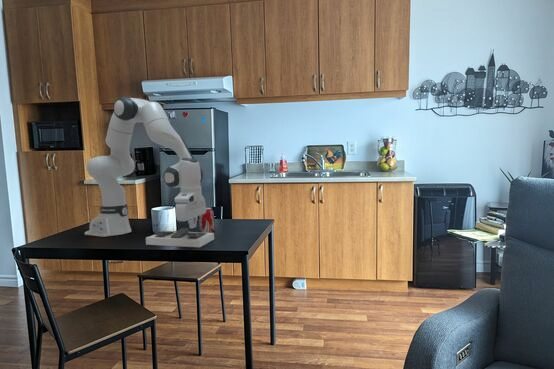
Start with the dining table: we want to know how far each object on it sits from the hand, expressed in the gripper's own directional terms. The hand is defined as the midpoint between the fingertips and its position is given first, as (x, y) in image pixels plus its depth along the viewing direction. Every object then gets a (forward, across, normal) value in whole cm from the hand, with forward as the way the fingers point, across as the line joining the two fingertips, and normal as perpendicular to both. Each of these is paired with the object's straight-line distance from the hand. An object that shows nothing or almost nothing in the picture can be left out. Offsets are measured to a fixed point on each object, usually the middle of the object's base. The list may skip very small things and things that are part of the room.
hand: (192, 227), depth 162 cm
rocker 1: (+4, -3, -16) cm, 17 cm away
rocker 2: (+4, -3, 0) cm, 5 cm away
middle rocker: (+4, -3, -8) cm, 10 cm away
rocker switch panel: (+7, -3, -8) cm, 11 cm away
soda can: (+8, -23, -5) cm, 25 cm away
